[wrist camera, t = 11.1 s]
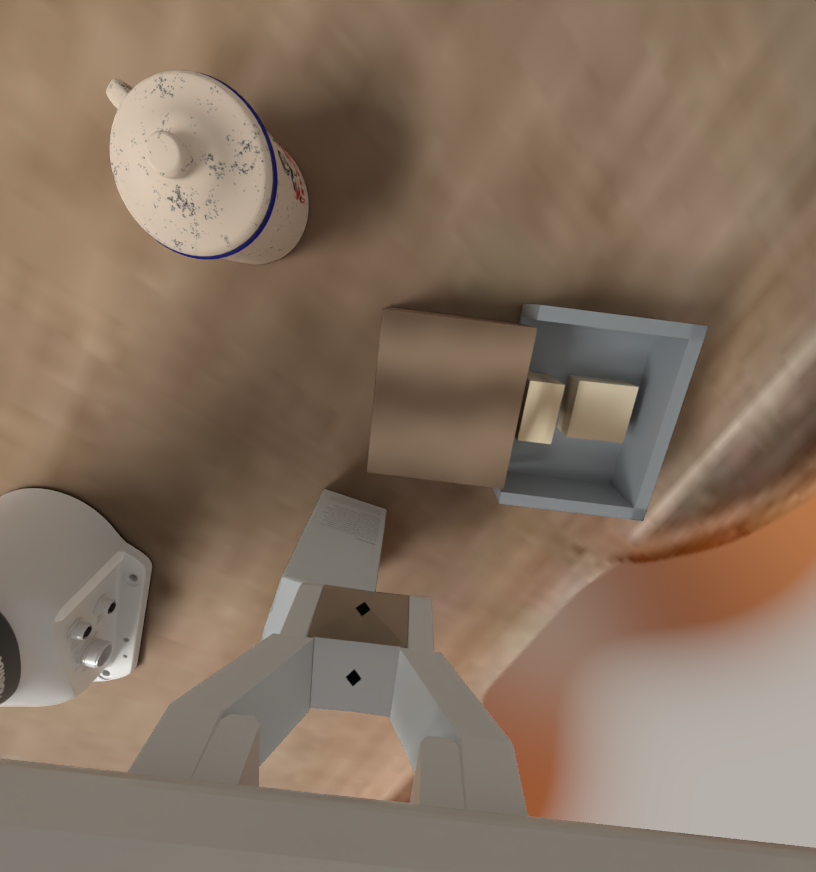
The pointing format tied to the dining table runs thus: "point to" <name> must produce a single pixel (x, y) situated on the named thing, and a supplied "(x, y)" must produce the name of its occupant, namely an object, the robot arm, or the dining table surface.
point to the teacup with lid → (204, 170)
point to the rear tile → (596, 408)
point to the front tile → (539, 408)
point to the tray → (649, 423)
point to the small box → (332, 552)
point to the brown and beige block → (447, 396)
